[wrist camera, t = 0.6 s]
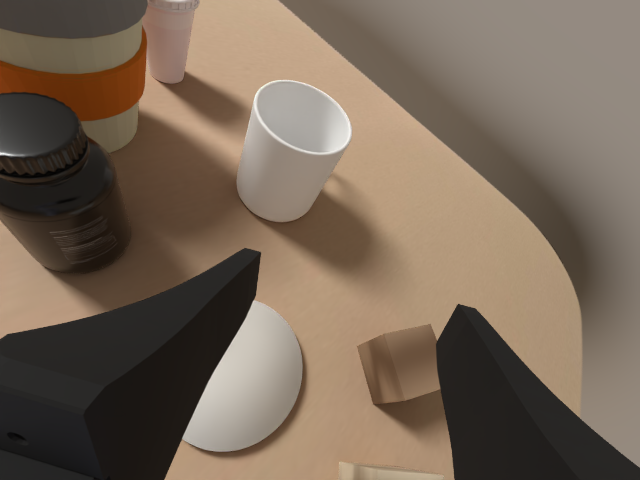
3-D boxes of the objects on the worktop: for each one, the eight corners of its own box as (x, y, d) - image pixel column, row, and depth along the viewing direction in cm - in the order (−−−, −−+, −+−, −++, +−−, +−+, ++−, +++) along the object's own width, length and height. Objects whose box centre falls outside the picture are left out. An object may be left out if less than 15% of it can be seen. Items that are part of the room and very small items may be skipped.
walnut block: (417, 390, 30) (453, 384, 26) (372, 404, 28) (405, 400, 24) (399, 337, 32) (430, 324, 28) (356, 346, 30) (384, 333, 26)
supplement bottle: (138, 207, 29) (117, 95, 19) (124, 278, 25) (90, 187, 16) (43, 197, 26) (-37, 63, 17) (14, 274, 23) (-106, 163, 13)
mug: (335, 175, 40) (378, 105, 31) (287, 240, 33) (326, 173, 24) (278, 135, 40) (306, 54, 31) (217, 192, 32) (231, 107, 24)
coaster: (290, 457, 24) (293, 458, 23) (129, 443, 21) (128, 444, 20) (306, 314, 30) (309, 311, 29) (182, 288, 27) (182, 285, 26)
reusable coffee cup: (-32, 90, 28) (-191, -162, 16) (114, 66, 35) (80, -120, 23) (45, 192, 26) (-69, -6, 14) (182, 145, 34) (183, -13, 22)
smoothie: (149, 47, 39) (136, -109, 27) (202, 69, 40) (211, -70, 29) (125, 76, 35) (100, -88, 24) (185, 99, 37) (188, -46, 26)
